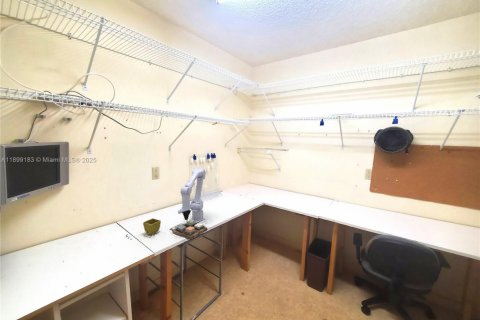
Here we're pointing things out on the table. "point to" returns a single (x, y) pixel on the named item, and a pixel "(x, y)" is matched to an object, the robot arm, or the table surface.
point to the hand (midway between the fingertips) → (186, 219)
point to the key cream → (198, 225)
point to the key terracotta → (190, 229)
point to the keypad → (189, 235)
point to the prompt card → (176, 227)
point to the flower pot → (152, 226)
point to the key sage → (190, 222)
